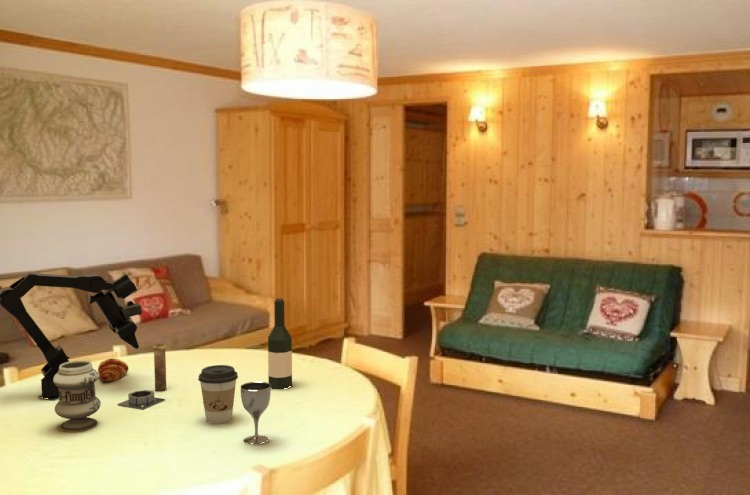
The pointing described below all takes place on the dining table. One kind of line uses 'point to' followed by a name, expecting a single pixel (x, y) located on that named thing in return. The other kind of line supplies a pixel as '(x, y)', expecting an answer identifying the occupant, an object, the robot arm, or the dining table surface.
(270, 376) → the wine bottle
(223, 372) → the coffee cup
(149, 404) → the cup bracket
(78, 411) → the apothecary jar
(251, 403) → the wine glass
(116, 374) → the croissant
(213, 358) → the dining table surface
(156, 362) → the tall ribbed vase
